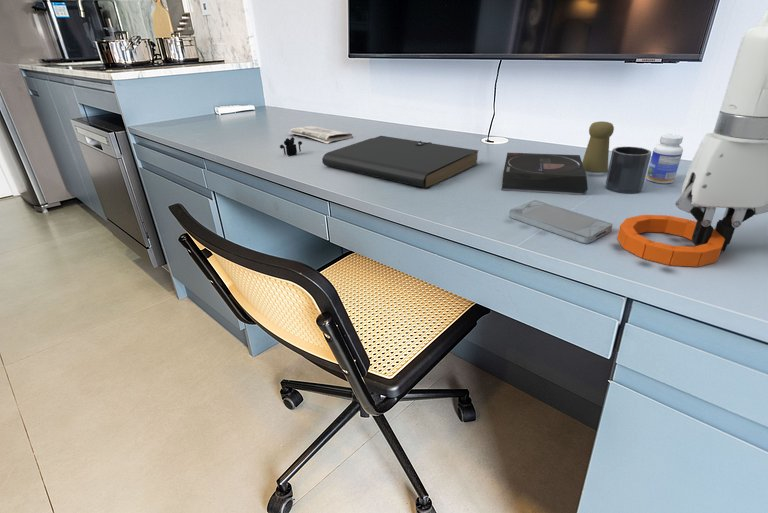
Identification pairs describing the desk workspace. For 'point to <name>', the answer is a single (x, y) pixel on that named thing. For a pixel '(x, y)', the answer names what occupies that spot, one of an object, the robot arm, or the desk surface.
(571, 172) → the portable cd player
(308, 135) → the newspaper
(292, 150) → the wireless earbuds
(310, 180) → the desk surface
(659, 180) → the pill bottle
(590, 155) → the olive pawn
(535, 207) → the phone
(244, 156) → the desk surface
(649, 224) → the ring
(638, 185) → the cup
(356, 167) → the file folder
